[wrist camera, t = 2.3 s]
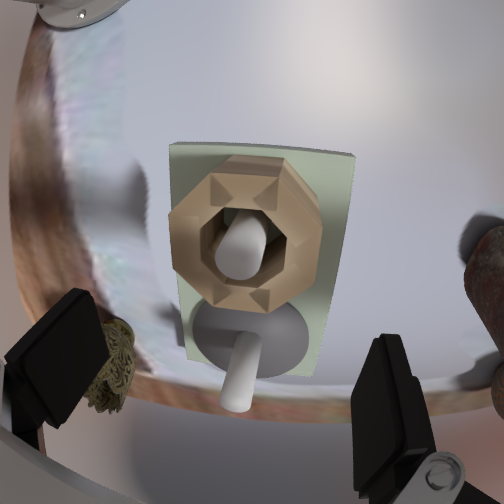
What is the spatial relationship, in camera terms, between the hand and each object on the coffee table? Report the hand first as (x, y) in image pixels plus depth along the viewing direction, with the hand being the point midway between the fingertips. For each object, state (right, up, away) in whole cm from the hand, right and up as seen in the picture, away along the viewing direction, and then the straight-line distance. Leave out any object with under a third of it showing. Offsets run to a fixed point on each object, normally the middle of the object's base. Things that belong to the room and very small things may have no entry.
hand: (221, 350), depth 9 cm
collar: (+1, +5, +9) cm, 11 cm away
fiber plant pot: (-12, -5, +18) cm, 22 cm away
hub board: (+1, +2, +13) cm, 13 cm away
